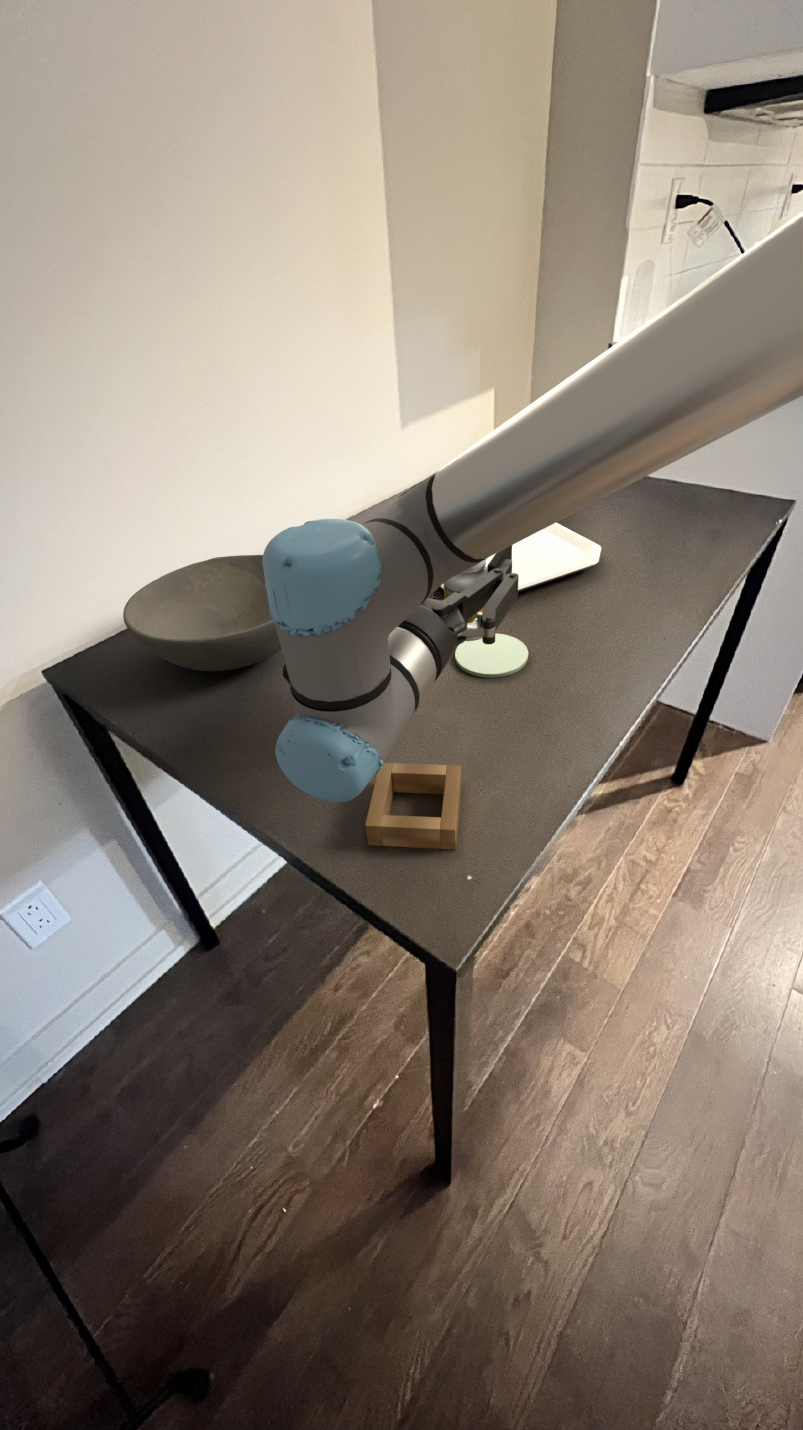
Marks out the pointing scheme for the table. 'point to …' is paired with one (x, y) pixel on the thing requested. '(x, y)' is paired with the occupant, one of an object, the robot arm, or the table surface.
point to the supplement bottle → (466, 585)
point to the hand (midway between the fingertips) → (482, 548)
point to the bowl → (206, 615)
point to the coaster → (492, 656)
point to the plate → (551, 556)
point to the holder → (413, 828)
